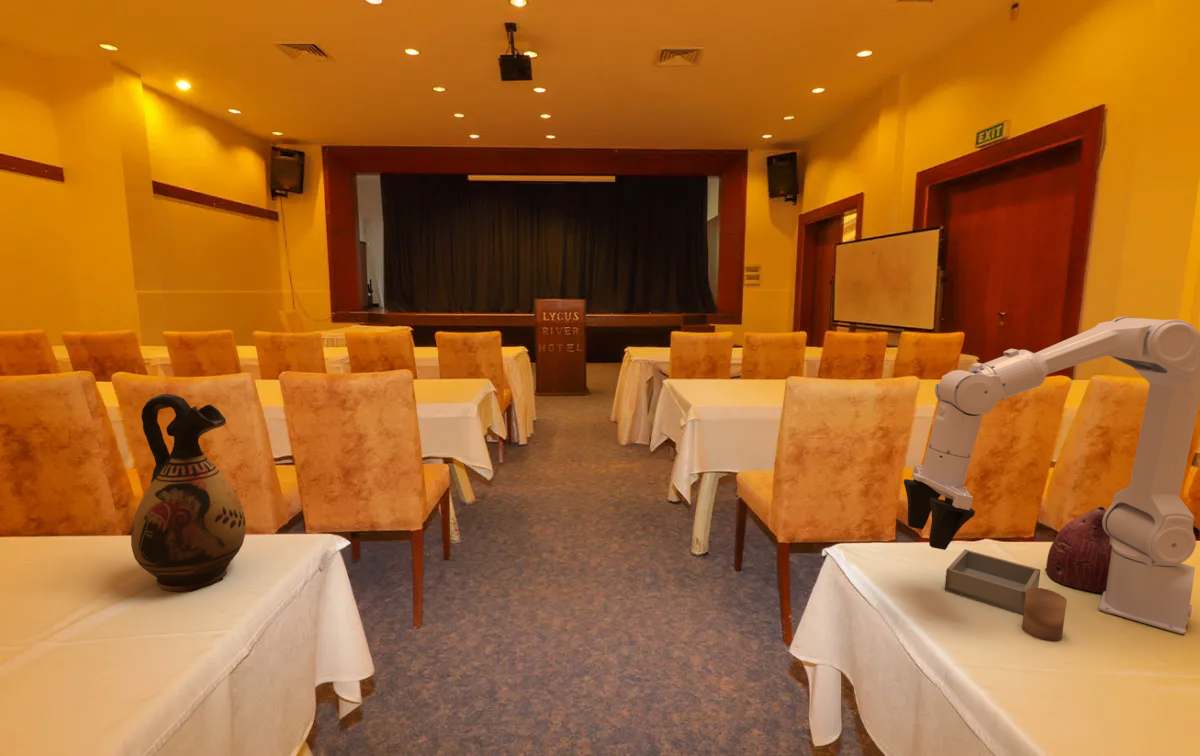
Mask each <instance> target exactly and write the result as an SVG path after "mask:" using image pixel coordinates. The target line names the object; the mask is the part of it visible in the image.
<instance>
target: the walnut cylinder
mask: <svg viewBox="0 0 1200 756" xmlns="http://www.w3.org/2000/svg"><path fill="white" fill-rule="evenodd" d="M1067 603H1068V601H1067V598H1066V597H1065V596H1064V595H1062V594H1060V593H1058V592H1056V591H1053V590H1051V589H1046V588H1042V587H1038V588H1029V589H1027V590H1026V597H1025V605H1024V613H1023V615H1022V621H1021V629H1022V631H1023V632H1024V633H1026V634H1027V635H1029V636H1031V637H1033V638H1035V639H1036V640H1037V639H1038V640H1041V641H1045V642H1052V643H1053V642H1054V643H1055V642H1060V641H1061V640H1063V632H1064V624H1065V618H1066V610H1067V609H1066V608H1067Z"/></svg>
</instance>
